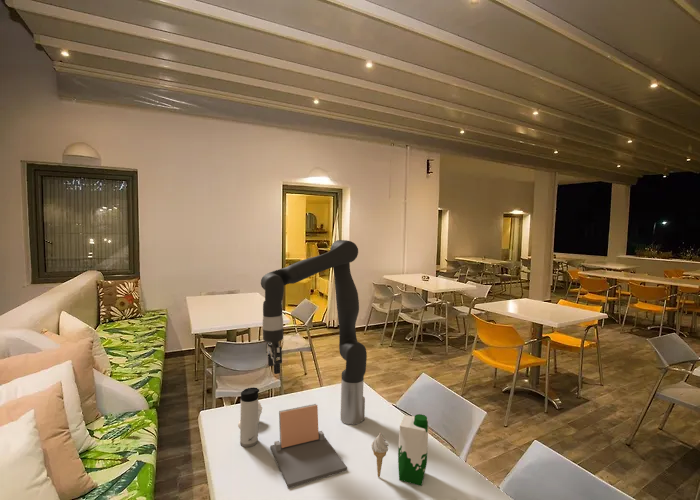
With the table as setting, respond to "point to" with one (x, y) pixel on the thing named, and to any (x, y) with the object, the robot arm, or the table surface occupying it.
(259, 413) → the beige irregular lump
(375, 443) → the ice cream cone
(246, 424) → the travel mug
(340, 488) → the table surface
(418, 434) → the milk carton
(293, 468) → the base
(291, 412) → the tile
